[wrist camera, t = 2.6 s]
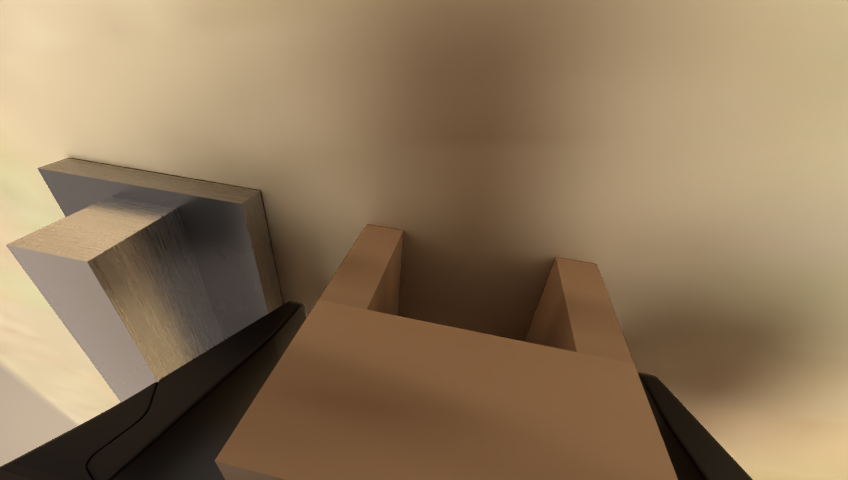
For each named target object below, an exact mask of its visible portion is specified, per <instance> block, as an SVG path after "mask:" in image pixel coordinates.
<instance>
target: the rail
mask: <svg viewBox="0 0 848 480" xmlns="http://www.w3.org/2000/svg"><path fill="white" fill-rule="evenodd" d="M38 170H39V172H40V173H41V175H42V177H43V178H44V180H45V182H46V184H47V185H48V187H49V189H50V191H51V192H52V194H53V196H54V197H55V199H56V201H57V203H58V204H59V206H60V208H61V209H62V211H63V213H64V215H65V216H66V217H65V218H63V219H61V220H59V221H57V222H54V223H52V224H50V225H48V226H46V227H44V228H42V229H39V230H37V231H35V232H33V233H31V234H29V235H27V236H24V237H22V238H20V239H18V240H16V241H14V242H11V243H9V244H7V245H6V246H7V247H8V249H9V250H10V251H11V253H12V254H13V255H14V257H15V258H16V259H17V261H18V262H19V264H20V265H21V266H22V268H23V269H24V270H25V272H26V273H27V274H28V276H29V277H30V279H31V280H32V281H33V283H34V284H35V285H36V287H37V288H38V289H39V291H40V292H41V294H42V295H43V296H44V298H45V299H46V300H47V302H48V303H49V304H50V306H51V307H52V309H53V310H54V311H55V313H56V314H57V315H58V317H59V318H60V319H61V321H62V322H63V324H64V325H65V326H66V328H67V329H68V330H69V332H70V333H71V334H72V336H73V337H74V339H75V340H76V341H77V343H78V344H79V345H80V347H81V348H82V349H83V351H84V352H85V354H86V355H87V356H88V358H89V359H90V360H91V362H92V363H93V364H94V366H95V367H96V369H97V370H98V371H99V373H100V374H101V375H102V377H103V378H104V379H105V381H106V382H107V384H108V385H109V386H110V388H111V389H112V390H113V392H114V393H115V394H116V396H117V397H118V399H119V400H120V401H121V402H123V401H124V400H126V399H128V398H129V397H131V396H133V395H135V394H136V393H138V392H140V391H141V390H143V389H145V388H146V387H148V386H150V385H151V384H153V383H155V382H158V381H159V380H160V379H161V378H163V377H165V376H166V375H168V374H170V373H171V372H173V371H174V370H176V369H178V368H179V367H181V366H183V365H184V364H186V363H188V362H189V361H191V360H193V359H194V358H196V357H197V356H199V355H201V354H202V353H204V352H206V351H207V350H209V349H211V348H212V347H214V346H216V345H217V344H219V343H220V342H222V341H224V340H225V339H227V338H229V337H230V336H232V335H234V334H235V333H237V332H239V331H240V330H242V329H243V328H245V327H247V326H248V325H250V324H252V323H253V322H255V321H257V320H258V319H260V318H262V317H263V316H265V315H267V314H268V313H270V312H271V311H273V310H275V309H276V308H278V307H280V306H281V305H283V301H282V296H281V291H280V286H279V281H278V276H277V272H276V267H275V262H274V257H273V252H272V247H271V242H270V237H269V232H268V227H267V222H266V218H265V213H264V208H263V203H262V198H261V193H260V191H259V190H253V189H247V188H242V187H236V186H230V185H224V184H218V183H212V182H206V181H200V180H194V179H189V178H183V177H177V176H171V175H165V174H159V173H153V172H147V171H141V170H136V169H130V168H124V167H118V166H112V165H106V164H100V163H94V162H89V161H83V160H77V159H71V158H67V159H64V160H61V161H58V162H55V163H52V164H49V165H46V166H43V167H40V168H38Z"/></svg>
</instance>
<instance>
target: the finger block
mask: <svg viewBox="0 0 848 480" xmlns="http://www.w3.org/2000/svg"><path fill="white" fill-rule="evenodd" d="M402 241H403V230H398V229H392V228H386V227H381V226H375V225H369V224H367V225H366V227H365V228H364V230H363V231H362V233H361V234H360V236H359V238H358V239H357V241H356V242H355V244H354V245H353V247H352V248H351V250H350V252H349V253H348V255H347V256H346V258H345V259H344V261H343V262H342V264H341V266H340V267H339V269H338V270H337V272H336V273H335V275H334V276H333V278H332V279H331V281H330V283H329V284H328V286H327V287H326V289H325V290H324V292H323V293H322V295H321V297H320V298H319V300H318V301H317V303H316V304H315V306H314V307H313V309H312V310H311V312H310V314H309V315H308V317H307V318H306V320H305V321H304V323H303V324H302V326H301V328H300V329H299V331H298V332H297V334H296V335H295V337H294V338H293V340H292V341H291V343H290V345H289V346H288V348H287V349H286V351H285V352H284V354H283V355H282V357H281V359H280V360H279V362H278V363H277V365H276V366H275V368H274V369H273V371H272V373H271V374H270V376H269V377H268V379H267V380H266V382H265V383H264V385H263V386H262V388H261V390H260V391H259V393H258V394H257V396H256V397H255V399H254V400H253V402H252V404H251V405H250V407H249V408H248V410H247V411H246V413H245V414H244V416H243V417H242V419H241V421H240V422H239V424H238V425H237V427H236V428H235V430H234V431H233V433H232V435H231V436H230V438H229V439H228V441H227V442H226V444H225V445H224V447H223V448H222V450H221V452H220V453H219V455H218V456H217V458H216V459H215V462H216V464H217V466H218V468H219V469H220V471H221V473H222V475H223V477H224V478H225V480H678V478H677V476H676V473H675V470H674V468H673V465H672V463H671V460H670V457H669V455H668V452H667V449H666V447H665V444H664V441H663V439H662V436H661V433H660V431H659V428H658V426H657V423H656V420H655V418H654V415H653V412H652V410H651V407H650V404H649V402H648V399H647V396H646V394H645V391H644V388H643V386H642V383H641V381H640V378H639V375H638V373H637V370H636V367H635V365H634V362H633V359H632V357H631V354H630V351H629V349H628V346H627V344H626V341H625V338H624V336H623V333H622V330H621V328H620V325H619V322H618V320H617V317H616V314H615V312H614V309H613V307H612V304H611V301H610V299H609V296H608V293H607V291H606V288H605V285H604V283H603V280H602V277H601V275H600V272H599V269H598V267H597V264H592V263H586V262H581V261H575V260H569V259H564V258H558V257H556V258H555V261H554V264H553V266H552V269H551V272H550V274H549V277H548V280H547V282H546V285H545V288H544V290H543V293H542V296H541V298H540V301H539V304H538V306H537V309H536V312H535V314H534V317H533V320H532V322H531V325H530V328H529V330H528V333H527V336H526V338H525V341H519V340H514V339H509V338H504V337H499V336H495V335H490V334H485V333H480V332H475V331H470V330H465V329H460V328H455V327H450V326H445V325H440V324H436V323H431V322H426V321H421V320H416V319H411V318H406V317H401V316H398V309H399V292H400V275H401V258H402Z"/></svg>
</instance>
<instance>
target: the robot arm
mask: <svg viewBox="0 0 848 480" xmlns="http://www.w3.org/2000/svg"><path fill="white" fill-rule="evenodd" d="M305 320H306V313H305V307H304V305H303V304H302V303H298V302H293V301H289V302H286V303H285V304H283V305H281V306H280V307H278V308H276V309H275V310H273V311H271V312H270V313H268V314H267V315H265V316H263V317H262V318H260V319H258V320H257V321H255V322H253V323H252V324H250V325H248V326H247V327H245V328H243V329H242V330H240V331H239V332H237V333H235V334H234V335H232V336H230V337H229V338H227V339H225V340H224V341H222V342H220V343H219V344H217V345H216V346H214V347H212V348H211V349H209V350H207V351H206V352H204V353H202V354H201V355H199V356H197V357H196V358H194V359H193V360H191V361H189V362H188V363H186V364H184V365H183V366H181V367H179V368H178V369H176V370H174V371H173V372H171V373H170V374H168V375H166V376H165V377H163V378H161V379H160V380H159V381H158V382H155V383H153V384H151V385H150V386H148V387H146V388H145V389H143V390H141V391H140V392H138V393H136V394H135V395H133V396H131V397H129V398H128V399H126V400H124V401H123V402H121V403H119V404H118V405H116V406H114V407H112V408H111V409H109V410H107V411H105V412H103V413H101V414H100V415H98V416H96V417H94V418H92V419H90V420H89V421H87V422H85V423H83V424H81V425H79V426H77V427H75V428H74V429H72V430H70V431H68V432H66V433H64V434H62V435H60V436H59V437H57V438H55V439H53V440H51V441H49V442H47V443H45V444H43V445H42V446H39V447H38V448H36V449H34V450H32V451H30V452H28V453H26V454H24V455H22V456H20V457H19V458H17V459H15V460H13V461H11V462H9V463H7V464H5V465H3V466H1V467H0V480H225V478H224V477H223V475H222V473H221V471H220V469H219V468H218V466H217V464H216V462H215V459H216V458H217V456H218V455H219V453H220V452H221V450H222V448H223V447H224V445H225V444H226V442H227V441H228V439H229V438H230V436H231V435H232V433H233V431H234V430H235V428H236V427H237V425H238V424H239V422H240V421H241V419H242V417H243V416H244V414H245V413H246V411H247V410H248V408H249V407H250V405H251V404H252V402H253V400H254V399H255V397H256V396H257V394H258V393H259V391H260V390H261V388H262V386H263V385H264V383H265V382H266V380H267V379H268V377H269V376H270V374H271V373H272V371H273V369H274V368H275V366H276V365H277V363H278V362H279V360H280V359H281V357H282V355H283V354H284V352H285V351H286V349H287V348H288V346H289V345H290V343H291V341H292V340H293V338H294V337H295V335H296V334H297V332H298V331H299V329H300V328H301V326H302V324H303V323H304V321H305ZM638 375H639V378H640V381H641V383H642V386H643V388H644V391H645V394H646V396H647V399H648V402H649V404H650V407H651V410H652V412H653V415H654V418H655V420H656V423H657V426H658V428H659V431H660V433H661V436H662V439H663V441H664V444H665V447H666V449H667V452H668V455H669V457H670V460H671V463H672V465H673V468H674V470H675V473H676V476H677V478H678V480H753V479H752V478H751V477H750V476H749V475H748V474H747V473H746V472H745V471H744V470H743V469H742V468H741V467H740V465H739V464H738V463H737V462H736V461H735V460H734V459H733V458H732V457H731V456H730V455H729V454H728V453H727V452H726V450H725V449H724V448H723V447H722V446H721V445H720V444H719V443H718V442H717V441H716V440H715V439H714V438H713V437H712V436H711V434H710V433H709V432H708V431H707V430H706V429H705V428H704V427H703V426H702V425H701V424H700V423H699V422H698V421H697V419H696V418H695V417H694V416H693V415H692V414H691V413H690V412H689V411H688V410H687V409H686V408H685V407H684V406H683V405H682V403H681V402H680V401H679V400H678V399H677V398H676V397H675V396H674V395H673V394H672V393H671V392H670V391H669V390H668V388H667V387H666V386H665V385H664V384H663V383H662V382H661V381H660V380H659V379H658V378H657V377H655V376H653V375H650V374H645V373H638Z"/></svg>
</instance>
